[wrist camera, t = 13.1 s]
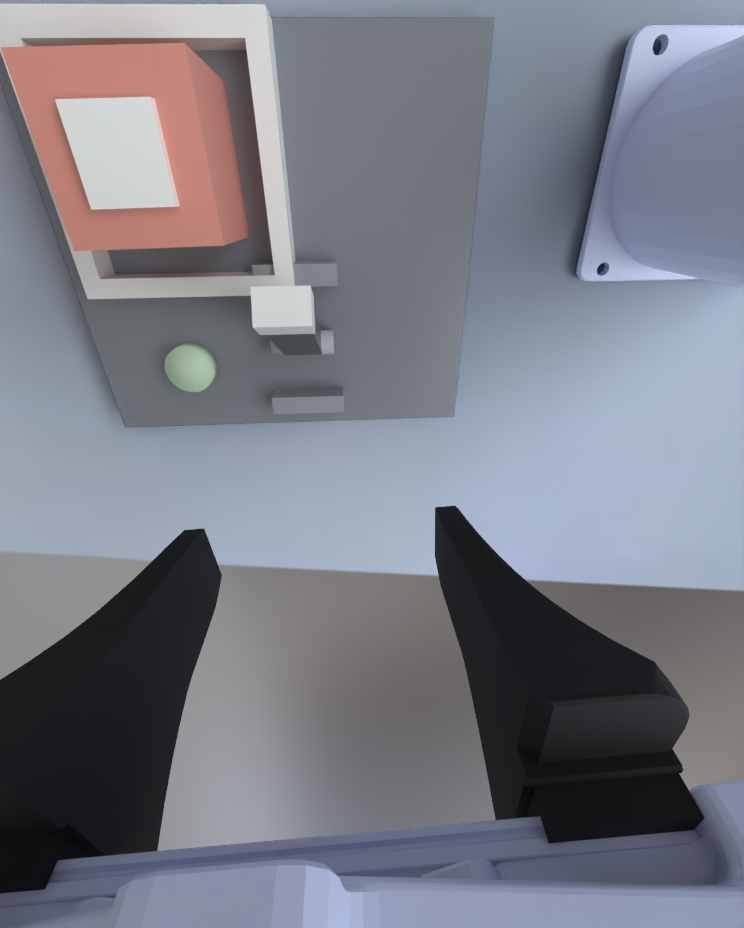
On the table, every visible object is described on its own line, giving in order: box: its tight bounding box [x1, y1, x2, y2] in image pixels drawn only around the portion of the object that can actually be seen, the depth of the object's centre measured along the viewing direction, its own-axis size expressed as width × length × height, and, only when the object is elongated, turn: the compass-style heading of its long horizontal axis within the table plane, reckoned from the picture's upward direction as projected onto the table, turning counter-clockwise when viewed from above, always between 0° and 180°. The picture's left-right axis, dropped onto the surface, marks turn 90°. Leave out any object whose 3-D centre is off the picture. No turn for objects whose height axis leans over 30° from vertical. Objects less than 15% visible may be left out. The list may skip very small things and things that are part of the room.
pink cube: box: [0, 43, 250, 251], centre depth 13 cm, size 4×4×4 cm
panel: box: [0, 4, 494, 427], centre depth 17 cm, size 16×14×2 cm
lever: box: [250, 286, 334, 356], centre depth 16 cm, size 3×1×6 cm, turn 91°
